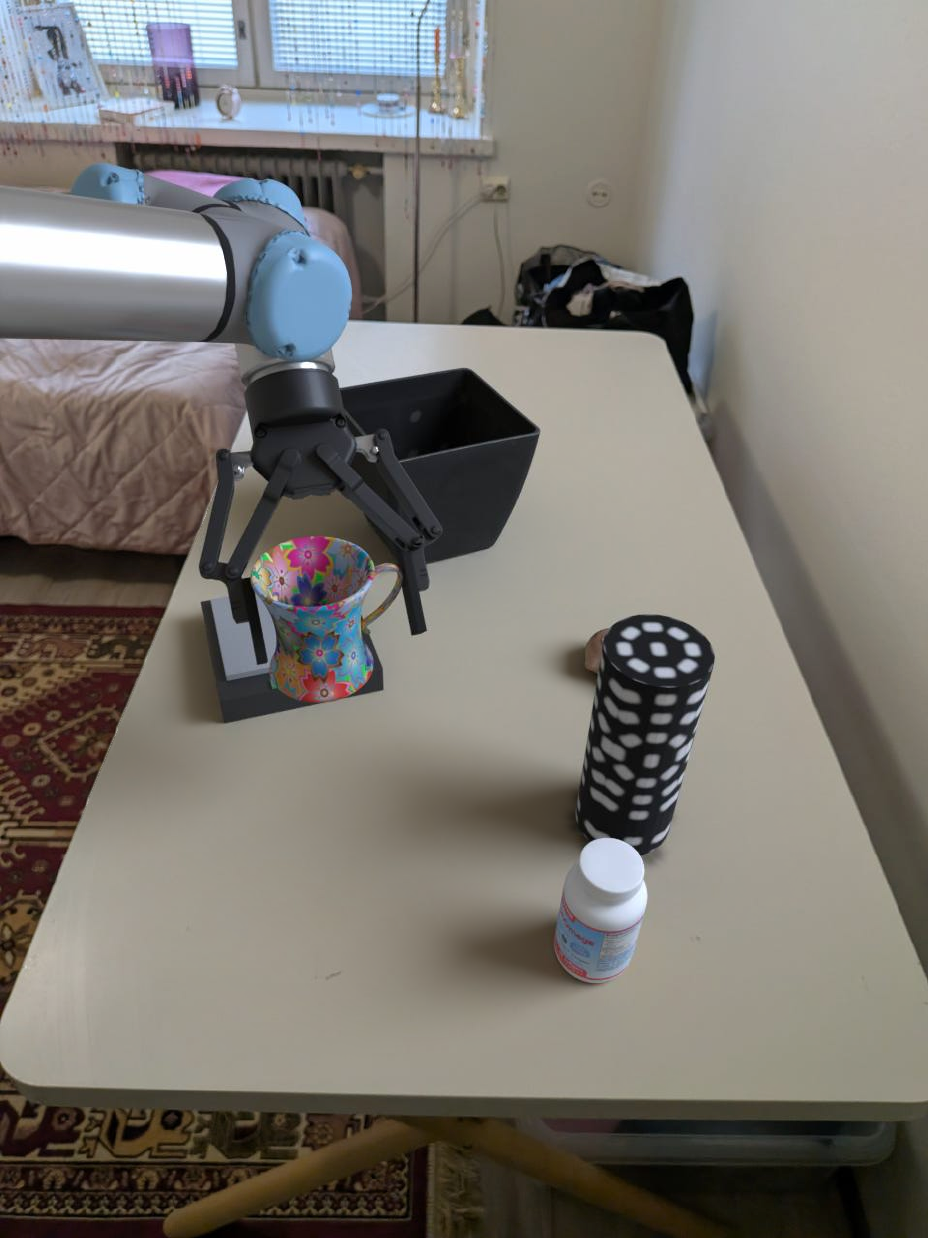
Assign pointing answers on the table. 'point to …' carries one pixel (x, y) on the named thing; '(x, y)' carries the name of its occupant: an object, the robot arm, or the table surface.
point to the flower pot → (446, 452)
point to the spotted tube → (642, 728)
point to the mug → (319, 615)
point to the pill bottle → (601, 911)
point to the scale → (255, 664)
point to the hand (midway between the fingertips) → (342, 648)
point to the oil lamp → (594, 650)
